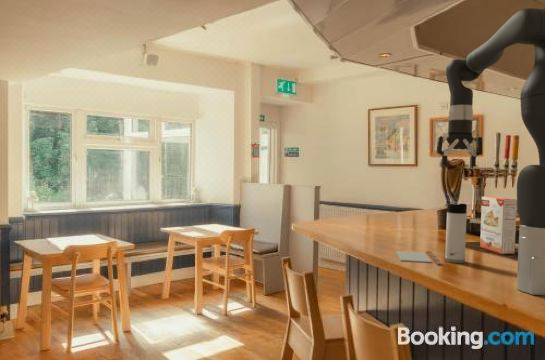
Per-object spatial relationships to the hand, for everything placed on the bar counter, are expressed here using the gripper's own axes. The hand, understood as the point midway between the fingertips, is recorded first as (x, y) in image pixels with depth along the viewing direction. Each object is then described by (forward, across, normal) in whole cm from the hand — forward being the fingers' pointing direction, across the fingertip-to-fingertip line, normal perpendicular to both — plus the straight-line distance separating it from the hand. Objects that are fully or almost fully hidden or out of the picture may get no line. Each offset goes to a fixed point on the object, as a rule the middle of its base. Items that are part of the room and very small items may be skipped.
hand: (458, 167), depth 155 cm
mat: (+32, -13, +3) cm, 35 cm away
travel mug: (+32, 0, 0) cm, 32 cm away
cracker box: (+32, +21, +26) cm, 47 cm away
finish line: (+32, -6, +3) cm, 33 cm away
